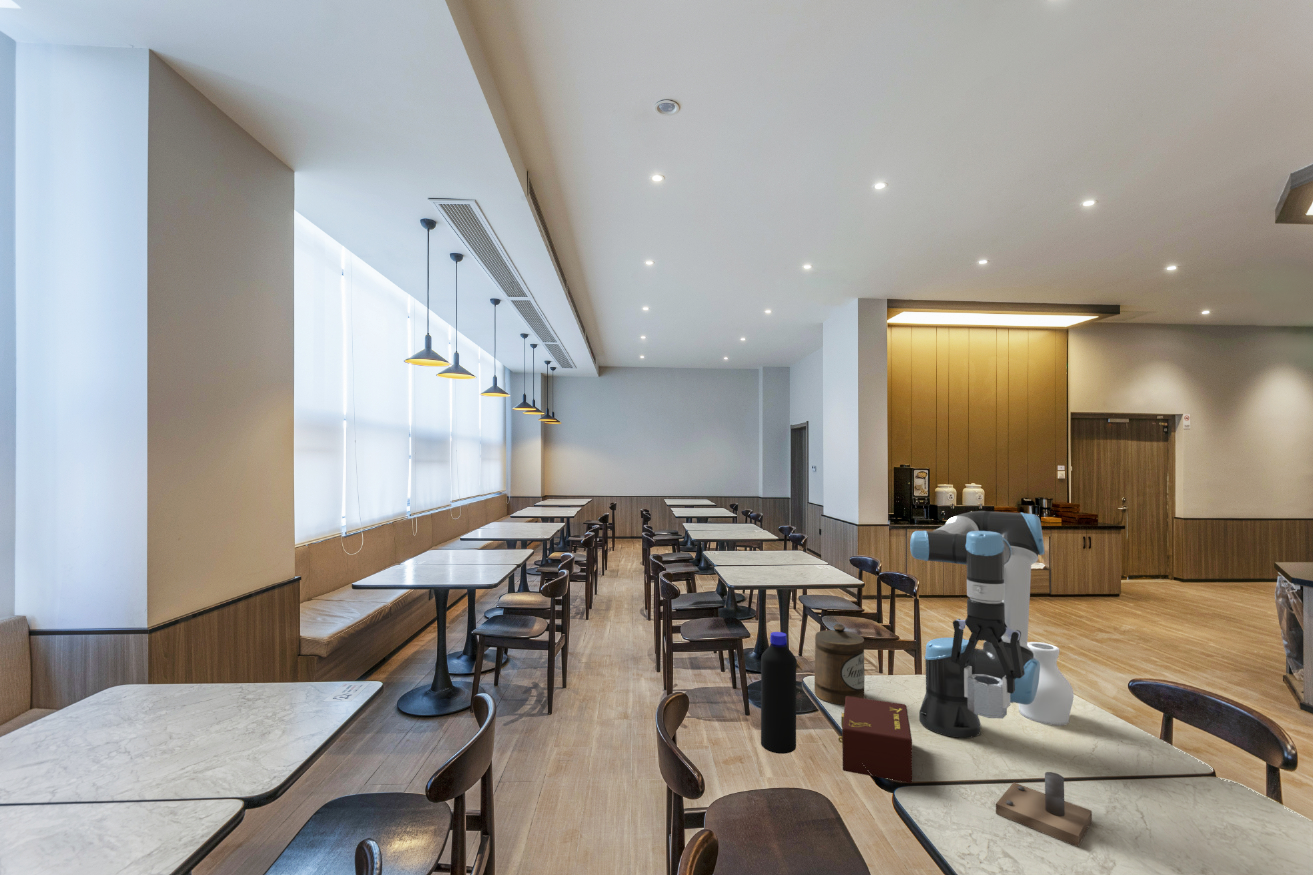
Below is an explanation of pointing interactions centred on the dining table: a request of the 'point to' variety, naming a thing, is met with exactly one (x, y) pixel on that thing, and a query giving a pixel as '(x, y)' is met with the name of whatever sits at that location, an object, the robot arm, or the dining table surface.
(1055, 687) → the vase
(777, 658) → the bottle
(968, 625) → the robot arm
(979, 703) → the hub
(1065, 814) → the shaft block
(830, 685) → the wooden container
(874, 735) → the box
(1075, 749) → the dining table surface
